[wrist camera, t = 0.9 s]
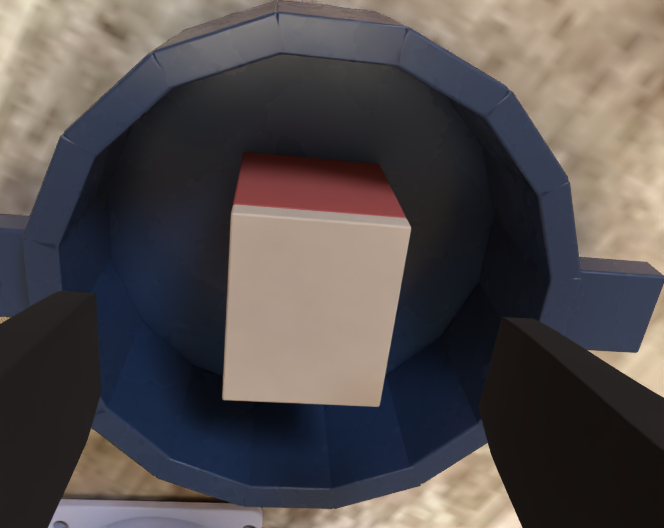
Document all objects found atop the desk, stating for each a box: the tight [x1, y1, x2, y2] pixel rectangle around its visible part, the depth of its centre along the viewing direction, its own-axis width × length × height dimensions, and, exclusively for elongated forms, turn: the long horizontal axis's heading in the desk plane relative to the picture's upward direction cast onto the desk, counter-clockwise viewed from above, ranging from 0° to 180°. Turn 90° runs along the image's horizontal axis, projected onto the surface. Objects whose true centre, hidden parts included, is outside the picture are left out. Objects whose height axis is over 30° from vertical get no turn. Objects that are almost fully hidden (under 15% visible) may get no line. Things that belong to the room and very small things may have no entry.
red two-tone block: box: [222, 152, 411, 407], centre depth 17 cm, size 5×4×5 cm
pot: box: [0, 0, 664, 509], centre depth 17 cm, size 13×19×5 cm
